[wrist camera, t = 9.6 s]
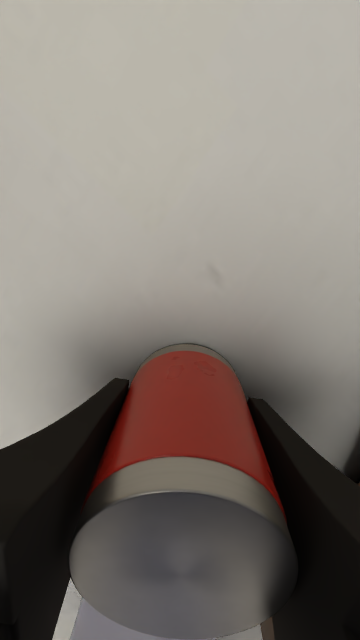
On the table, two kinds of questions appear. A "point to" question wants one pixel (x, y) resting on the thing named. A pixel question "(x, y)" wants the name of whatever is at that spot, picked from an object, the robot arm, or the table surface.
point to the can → (184, 508)
